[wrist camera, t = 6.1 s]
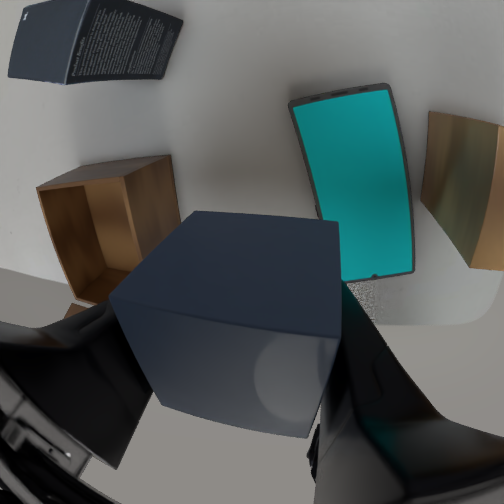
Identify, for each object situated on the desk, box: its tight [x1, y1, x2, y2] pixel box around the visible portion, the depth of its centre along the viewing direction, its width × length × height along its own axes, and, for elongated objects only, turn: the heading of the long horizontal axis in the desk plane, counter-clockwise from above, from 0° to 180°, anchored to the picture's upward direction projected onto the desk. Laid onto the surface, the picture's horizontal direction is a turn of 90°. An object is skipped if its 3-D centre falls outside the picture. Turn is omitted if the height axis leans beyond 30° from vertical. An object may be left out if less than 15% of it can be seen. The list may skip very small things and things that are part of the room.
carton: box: [36, 155, 181, 305], centre depth 24 cm, size 13×12×6 cm
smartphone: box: [288, 83, 415, 284], centre depth 19 cm, size 7×1×15 cm
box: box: [8, 0, 183, 85], centre depth 12 cm, size 8×6×11 cm
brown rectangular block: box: [420, 111, 504, 271], centre depth 12 cm, size 7×7×10 cm
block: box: [109, 211, 342, 438], centre depth 8 cm, size 4×4×4 cm
